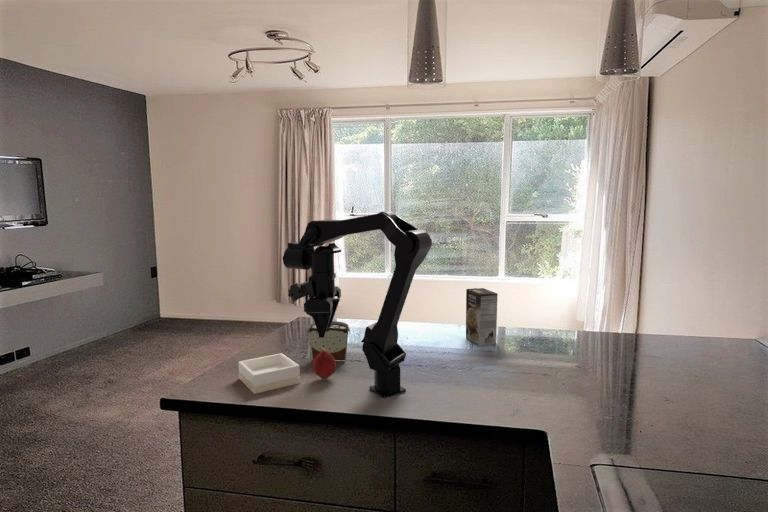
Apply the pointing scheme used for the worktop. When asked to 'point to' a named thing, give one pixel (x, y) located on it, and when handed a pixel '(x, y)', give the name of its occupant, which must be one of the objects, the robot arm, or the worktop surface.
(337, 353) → the food container
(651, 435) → the worktop surface
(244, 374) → the open white tray
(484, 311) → the coffee box
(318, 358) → the onion
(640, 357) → the worktop surface
